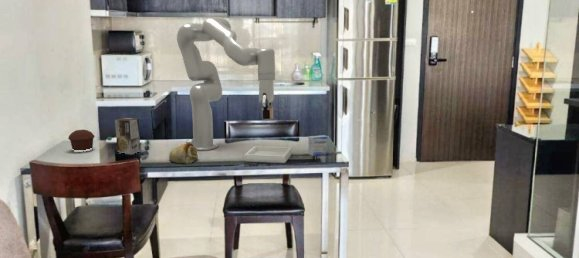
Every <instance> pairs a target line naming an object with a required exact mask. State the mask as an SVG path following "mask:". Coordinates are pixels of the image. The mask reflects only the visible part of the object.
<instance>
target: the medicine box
mask: <svg viewBox="0 0 579 258" xmlns="http://www.w3.org/2000/svg"><path fill="white" fill-rule="evenodd" d="M328 142H329V137H328V136H327V135H325V134H322V135H320V134H319V135H310V136H308V155H309V156H311V157H318V156H326V155H328V154H329V153H328V149H329V148H328V144H329V143H328Z"/></svg>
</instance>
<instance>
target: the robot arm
mask: <svg viewBox="0 0 579 258" xmlns="http://www.w3.org/2000/svg"><path fill="white" fill-rule="evenodd" d="M231 28H232V27H231V24H230V21H228V20H227V19H226V18H223V17H209V18H206V19H205V20H204V21H203V22H202V23H198V22H196V23H193V22H190V23H185V24H182V25H181V26H180V27H179V29H178V31H177V33H176V41H177V46H178V48H179V51H180V53H181V57H182V60H183V64H184V68H185V71H186V72H185V73H186V74H187V78H188V79H189V80H190V81H192V82H200V83H196V84H194V85H193V86H191V87H190V90H189V99H190V102H191V103H190V104H191V111H192V112H191V113H192V115H191V116H192V134H193V135H192V137H193V138H191V139H190V138H186V139H185V144H187V143H191V144H192V145H193V146H194V147H195V148H196V149H197V151H210V150H211V151H212V150H214V149H216V148H217V144H216V143H214V127H213V123H214V122H213V109H212V107H211V104H210V103H212V102H217V101H219V100H220V99H221V97H222V96H223V87H222V83H221V80H220V76H219V71H218V68H217V66H216V65H215V64H214V63H213V62H212V61H210V60H203V59H202V56H201V52H200V50H199V48H198V47H197V45H196V44H195V43H194V42H210V41H215V42H216V43H217V44H219V45H220V46H221V47H222V48H223V50H224V52H225V54H226V55H227V56H228V58H230V59H231V60H232V61H233V62H235V63H236V64H237V65H240V66H242V67H245V66H247V67H248V66H257V78H258V79H257V81H259V84H258V103H259V104H262V106H261V107H262V108H261V115H262V114H263V119H262V120H264V119H270V110H269V105H272V106H273V102H274V100H275V99H274V97H275V94H274V93H275V92H274V90H275V89H274V81H276V62H275V61H276V60H275V57H276V56H275V50H274V49H273V48H256V47H252V48H251V47H250V48H249V47H248V48H246V47H245V48H244V47H243V46H241V45H240V44H238V42H236V40H237V37H238V36H237V33H236V32H235V31H234V30H233V29H231Z"/></svg>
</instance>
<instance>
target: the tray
mask: <svg viewBox="0 0 579 258" xmlns="http://www.w3.org/2000/svg"><path fill="white" fill-rule="evenodd" d="M292 155H293V147H288V146H287V147H285V146H282V147H281V146H264V145H262V146H260V145H254V146H253V147H252V148H250V149H249V150H248V151H247V152H246V153H244V155H243V156H244V157H243V158H244V159H243V161H244V162H253V163H274V164H276V163H277V164H285V163H287V161H288V160H289V158H290V157H291V156H292Z"/></svg>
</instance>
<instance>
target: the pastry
mask: <svg viewBox="0 0 579 258" xmlns="http://www.w3.org/2000/svg"><path fill="white" fill-rule="evenodd" d="M168 159H169V161H170V162H172V163H174V164H181V163H185V164H184V165H188V163H190V164H192V162H193V163H195V162H196V161H197V160H198V159H199V155H198V150H197V149H196V148H195V147H194V146H193V145H192V144H191V143H183V144H181V145H177V146H176V147H175V148H172V149H171V150H170V152H169V157H168Z"/></svg>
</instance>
